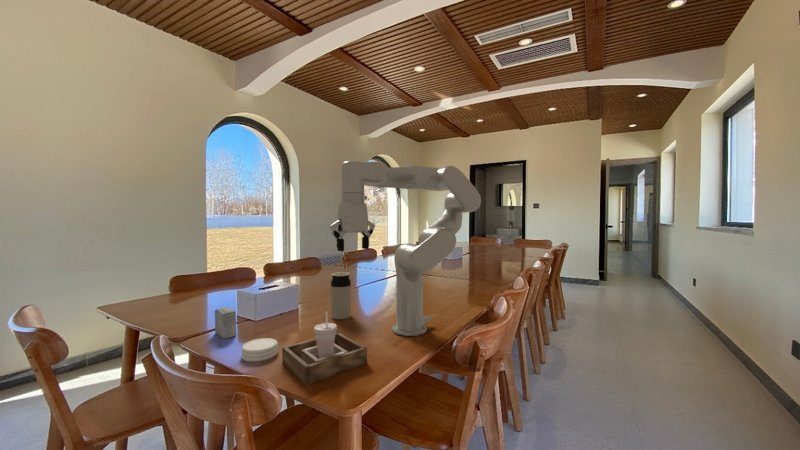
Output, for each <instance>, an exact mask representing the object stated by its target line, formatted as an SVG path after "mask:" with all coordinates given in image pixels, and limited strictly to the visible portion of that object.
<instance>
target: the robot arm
mask: <svg viewBox="0 0 800 450" xmlns="http://www.w3.org/2000/svg"><path fill="white" fill-rule="evenodd" d="M365 186H367V187H371V188H372V187H373V188H374V187H375V188H392V189H404V190H405V189H406V190H407V189H408V190H421V191H423V190H424V191H433V192H434V191H435V192H441V191H449V192H450V193H448V194H447V195H446V196H445V197H444V198H445V199H444V203H443V205H444V209H443V214H442V215H441V216H440V217H439V218H438V219H437V220H436V221H435V222H433V223H432V224H431V225H429V226H428V227H426V228H425V229H424V230H422V232H421V233H420V234H419V236H418V239H417V240H418V241H417V242H418V244H415V243H403V244H401V245H400V246H398V247H397V249H396V250H395V252H394V257H393V258H394V260H393V261H394V268H395V278H396V288H395V289H396V290H395V291H396V294H395V295H396V310H395V311H396V317H395V318H396V323H394V324H393V325H392V326H391V327H392V328H391V330H392V332H393V333H394V334H396V335H399V336H406V337H416V336H420V335H424V334H425V333H426V332H427V325H426V324H425V323H426V322H430V321H431V320H432V315H426V316H424V315H423V306H424V305H423V303H424V302H423V301H424V299H423V298H424V297H423V295H424V294H423V292H424V291H423V285H424V283H423V282H424V281H423V275H422V274H426V273H428V272H430V271H432V270H433V269H434V268H435V267H436V266H437V265H439V264H441V262H442V261H444V260H445V259H446V258H447V257H448V256H450V255H451V253H453V252H454V250H455V248H456V244H457V237H456V234H457V233H458V232H459V231H460V229H461V227H462V225H463V224H462V223H463V213H472V212H476V211H478V209H479V208H480V207H481V204H482V198H481V197H482V196H481V195H480V193H479V191H478V190H477V188H476V187H475V186H474V185H473V183H472V182H471V181H470V180H469V178H468V177H467V176H466V175H465V174H464V173H463V172H462V171H461V170H460V169H459V168H458V167H456V166H454V165H445V166H443V167H433V166H424V165H417V164H416V165H415V164H411V165H410V164H407V165H403V166H395V167H388V166H387V164H385V163H384V162H382V161H377V160H376V161H359V160H358V161H357V160H347V161H344V162H342V163H341V202H339V203H338V208H337V214H336V215H337V216H336V221H335V222H333V223H332V224H330V225H329V230H330V232H331V234H332V235H333V236H334V238H335V239H336V249H337V251H338V252H344V251H345V239H344V236H345V235H346V234H353V233H360V234H361V235H362V236H363V237H362V238H361V249H363V250H369V248H370V238H371V237H372V235H373V233H374V230H375V228H376V224H374V223H373V222H371V221H370V220H369V215H368V207H367V203H366V202H365V201H367V199H368V196H367V195H365Z"/></svg>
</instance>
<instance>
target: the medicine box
mask: <svg viewBox="0 0 800 450" xmlns="http://www.w3.org/2000/svg"><path fill="white" fill-rule="evenodd" d="M236 314H237V313H236V311H235V310H234V309H232V308H230V307H228V306H226V307H222V308H221V307H220V308H217V309H214V327H215V328H214V330H215V331H214V332H215V334H216V335H218V336H219V337H221V338H222V339H228V338H231V337H235V336H237V317H236V316H237V315H236Z"/></svg>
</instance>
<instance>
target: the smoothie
mask: <svg viewBox="0 0 800 450" xmlns="http://www.w3.org/2000/svg"><path fill="white" fill-rule="evenodd" d="M337 330H338V326H337V324H335V323H332V322H329V312H328V311H327V310H326V311H325V322H323V323H318V324H315V326H314V327H313V332H314V333H315V339H316V342H317V349H318V356H319V359H320V358H324V357H327V356H330V355H333V350H334V342H335V333H337V332H336V331H337Z"/></svg>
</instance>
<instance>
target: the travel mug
mask: <svg viewBox="0 0 800 450" xmlns="http://www.w3.org/2000/svg"><path fill="white" fill-rule="evenodd" d="M350 275H351V273H350V272H347V271H337V272H332V273H331V276H332V278H331V282H330V316H331V318H332V319H334V320H346V319H348V318H349V319H350V317H351V315H352V312H351V309H352V306H351V304H352V302H351V301H352V300H351V299H352V297H351V295H352V292H351V289H352V287H351V283H352V282H351V279H350Z"/></svg>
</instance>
